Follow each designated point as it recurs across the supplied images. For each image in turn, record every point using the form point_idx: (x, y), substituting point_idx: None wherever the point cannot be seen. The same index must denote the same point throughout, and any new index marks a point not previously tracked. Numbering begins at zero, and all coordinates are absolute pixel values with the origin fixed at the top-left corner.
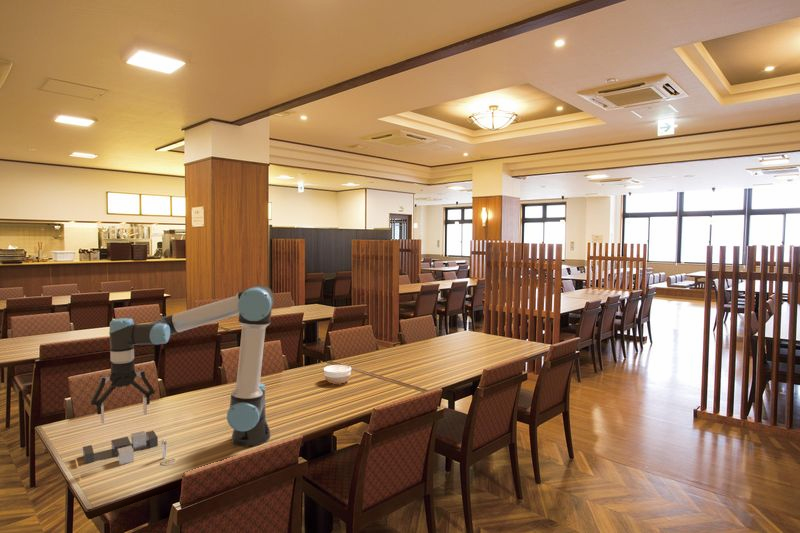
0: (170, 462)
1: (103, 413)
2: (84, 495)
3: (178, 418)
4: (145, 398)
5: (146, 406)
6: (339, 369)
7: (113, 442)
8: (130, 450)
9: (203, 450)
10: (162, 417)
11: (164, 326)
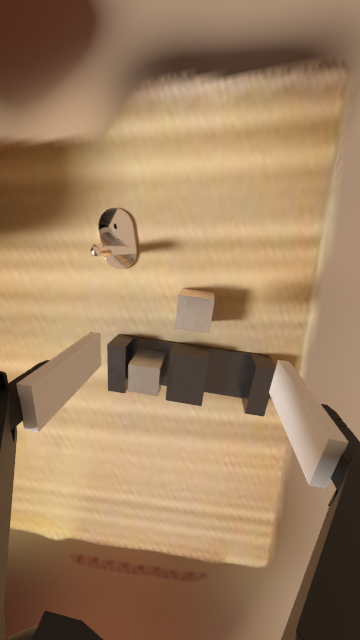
0: (112, 212)
1: (301, 392)
2: (334, 177)
3: (54, 441)
4: (29, 380)
5: (66, 349)
6: None
7: (201, 390)
8: (185, 296)
9: (31, 231)
10: (81, 466)
11: None
